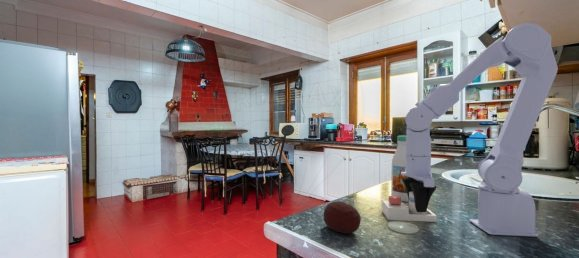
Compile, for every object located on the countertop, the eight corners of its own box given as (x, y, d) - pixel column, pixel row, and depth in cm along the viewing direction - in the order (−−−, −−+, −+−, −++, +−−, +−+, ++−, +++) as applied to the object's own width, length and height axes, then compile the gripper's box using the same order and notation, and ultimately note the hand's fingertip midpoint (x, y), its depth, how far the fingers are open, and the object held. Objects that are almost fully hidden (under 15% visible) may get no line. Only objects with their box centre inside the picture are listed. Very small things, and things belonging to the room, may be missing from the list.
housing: (425, 212, 69) (425, 201, 69) (436, 221, 63) (436, 209, 62) (382, 211, 70) (382, 200, 70) (388, 219, 64) (388, 207, 64)
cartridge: (422, 214, 68) (423, 191, 68) (429, 220, 64) (429, 195, 64) (406, 213, 68) (406, 191, 68) (411, 219, 64) (412, 195, 64)
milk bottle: (386, 196, 84) (386, 135, 84) (405, 195, 86) (406, 135, 86) (403, 203, 77) (403, 136, 76) (424, 201, 79) (424, 136, 79)
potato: (341, 220, 64) (341, 195, 64) (370, 236, 54) (370, 207, 54) (315, 225, 61) (315, 199, 61) (341, 243, 51) (341, 212, 51)
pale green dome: (412, 223, 62) (412, 221, 62) (423, 234, 55) (423, 232, 55) (384, 222, 62) (384, 220, 62) (392, 233, 56) (392, 231, 56)
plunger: (399, 210, 68) (399, 195, 68) (402, 214, 65) (402, 199, 65) (387, 209, 68) (387, 195, 68) (390, 213, 65) (390, 198, 65)
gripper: (393, 152, 73) (393, 199, 74) (411, 159, 59) (411, 218, 59) (419, 152, 73) (419, 200, 73) (444, 159, 58) (443, 219, 58)
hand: (417, 208), depth 66 cm, fingers closed on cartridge, 4 cm apart
